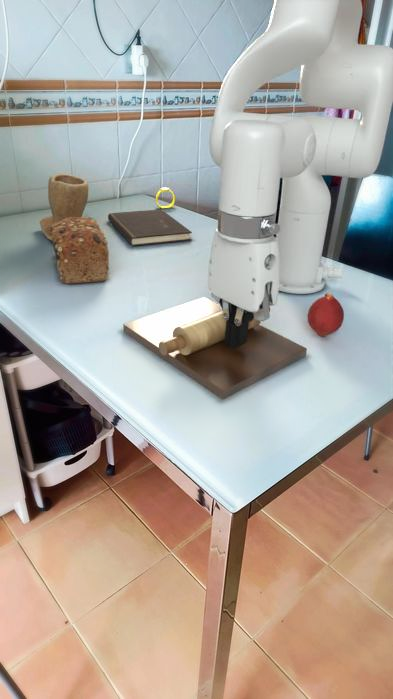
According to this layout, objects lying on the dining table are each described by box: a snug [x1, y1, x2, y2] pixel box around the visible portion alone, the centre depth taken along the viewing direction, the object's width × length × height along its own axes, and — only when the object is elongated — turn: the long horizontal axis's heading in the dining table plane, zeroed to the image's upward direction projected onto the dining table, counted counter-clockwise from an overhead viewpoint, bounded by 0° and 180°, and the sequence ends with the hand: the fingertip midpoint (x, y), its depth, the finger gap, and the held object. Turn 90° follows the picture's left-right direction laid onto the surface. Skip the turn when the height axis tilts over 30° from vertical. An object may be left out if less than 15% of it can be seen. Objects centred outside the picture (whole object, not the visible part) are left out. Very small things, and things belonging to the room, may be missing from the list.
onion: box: [306, 292, 345, 338], centre depth 79 cm, size 6×6×8 cm
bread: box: [50, 216, 110, 285], centre depth 101 cm, size 19×11×10 cm, turn 17°
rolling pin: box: [159, 306, 271, 355], centre depth 74 cm, size 22×4×4 cm, turn 131°
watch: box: [155, 187, 176, 210], centre depth 148 cm, size 6×3×6 cm, turn 109°
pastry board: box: [122, 296, 308, 400], centre depth 77 cm, size 18×24×2 cm
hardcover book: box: [107, 208, 192, 247], centre depth 128 cm, size 16×23×2 cm
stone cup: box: [39, 173, 89, 241], centre depth 119 cm, size 15×12×15 cm
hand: (235, 343), depth 72 cm, fingers closed
